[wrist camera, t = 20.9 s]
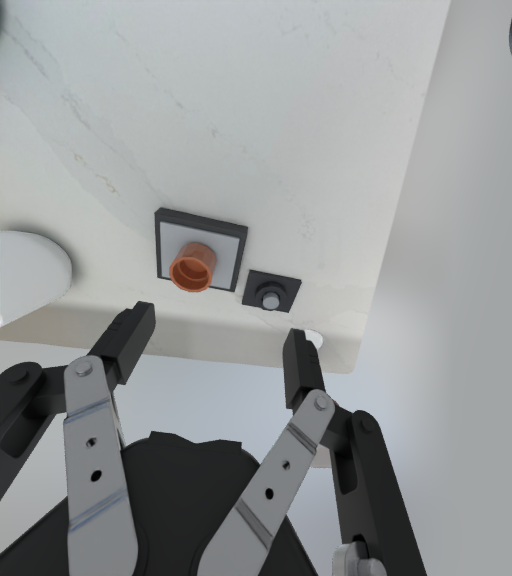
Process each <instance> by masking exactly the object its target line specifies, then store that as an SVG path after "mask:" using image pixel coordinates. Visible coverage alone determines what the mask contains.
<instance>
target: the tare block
mask: <svg viewBox="0 0 512 576" xmlns="http://www.w3.org/2000/svg"><path fill="white" fill-rule="evenodd" d="M301 283H302V282H301V280H298V279H293V278H288V277H283V276H278V275H273V274H268V273H263V272H258V271H253V270H250V272H249V276H248V280H247V284H246V288H245V292H244V296H243V300H242V304H243V305H248V306H254V307H259V308H262V309H263V310H268V311H273V310H276V311H281V312H287V313H289V311H290V309H291V306H292V304H293V302H294V299H295V297H296V295H297V292H298V290H299V288H300V285H301ZM268 292H274V293H276V294H277V295H278V297H279V305H278V307H277V308H275V309H267V308H265V307H264V305H263V296H264V295H265V294H266V293H268Z"/></svg>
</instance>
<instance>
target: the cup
mask: <svg viewBox="0 0 512 576" xmlns="http://www.w3.org/2000/svg"><path fill="white" fill-rule="evenodd" d="M71 276H72V265H71V261H70V259H69V257H68V255H67V253H66V252H65V251H64V250H63V249H62V248H61V247H60V246H59V245H58V244H56V243H54V242H53V241H51V240H50V239H48V238H46V237H43V236H40V235H37V234H34V233H26V232H18V231H0V327H2V326H4V325H6V324H8V323H10V322H12V321H14V320H17V319H19V318H21V317H23V316H25V315H27V314H29V313H31V312H33V311H35V310H37V309H39V308H41V307H43V306H45V305H47V304H49V303H51V302H53V301H55V300H57V299H59V298H61V297H63V296H64V295H65V293H66V292H67V290H68V289H69V287H70V286H71Z"/></svg>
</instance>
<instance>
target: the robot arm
mask: <svg viewBox="0 0 512 576" xmlns="http://www.w3.org/2000/svg"><path fill="white" fill-rule="evenodd" d="M155 324H156V320H155V309H154V304H153V303H148V302H142V301H138V302H137V303H136V305H135V306H134V308H133V309H125V310H124V311H122V312H121V313H119V314H118V315H117V316H116V317H115V319H114V320H113V321H112V324H110V325H109V327H108V328H107V330H106V331H105V332H104V333H103V334H102V336H101V337H100V338H99V340H98V341H97V342H96V344H95V345H94V346H93V348H92V349H91V350H90V352H89V353H88V354H87V355H86V356H83V357H80V358H78V359H76V360H74V361H73V362H71V363H70V364H69V365H65V366H58V367H50V368H42V367H41V366H40V365H39V364H38V363H35V362H23V363H20V364H16V365H14V366H12V367H10V368H8V369H6V370H5V371H4V372H2V373H1V374H0V501H1V499H2V497H3V496H4V494H5V493H6V491H7V489H8V488H9V487H10V485H11V484H12V482H13V480H14V479H15V477H16V476H17V474H18V473H19V471H20V470H21V468H22V467H23V465H24V463H25V462H26V460H27V459H28V457H29V456H30V454H31V453H32V451H33V450H34V448H35V446H36V445H37V443H38V442H39V440H40V439H41V437H42V436H43V434H44V432H45V431H46V429H47V428H48V426H49V425H50V423H51V422H52V420H53V419H54V417H55V415H56V414H59V413H64V412H67V417H66V419H64V422H63V429H64V430H63V431H64V446H65V461H66V476H67V492H68V496H67V497H66V498H64V499H63V500H62V501H61V502H60V503H59V504H58V505H56V506H55V507H54V508H53V509H52V510H50V511H49V512H48V513H47V514H46V515H45V516H44V517H42V518H41V519H40V520H39V521H38V522H37V523H35V524H34V525H33V526H32V527H31V528H29V529H28V530H27V531H26V532H25V533H24V534H22V536H20V537H19V538H18V539H17V540H16V541H14V542H13V543H12V544H11V545H10V546H9V547H8V548H6V549H5V550H4V551H3V552H2V553H0V576H318V574H317V572H316V570H315V568H314V566H313V565H312V562H311V560H310V559H309V557H308V555H307V553H306V551H305V549H304V547H303V545H302V543H301V541H300V540H299V537H298V536H297V534H296V532H295V530H294V528H293V526H292V524H291V522H290V520H289V518H288V516H287V514H286V513H287V511H288V509H289V507H290V505H291V503H292V501H293V499H294V497H295V495H296V493H297V491H298V489H299V487H300V485H301V483H302V481H303V479H304V477H305V475H306V473H307V471H308V469H309V467H310V465H311V463H312V461H313V459H314V457H315V455H316V452H317V450H316V448H317V446H318V444H320V445H322V446H324V447H326V448H328V449H329V452H330V459H331V466H332V474H333V481H334V487H335V495H336V502H337V509H338V516H339V524H340V531H341V538H342V545H340V546H338V547H337V548H336V550H335V552H334V555H333V562H332V571H333V573H332V576H427V574H426V571H425V568H424V564H423V562H422V558H421V555H420V552H419V549H418V546H417V542H416V539H415V536H414V533H413V530H412V527H411V523H410V521H409V517H408V514H407V511H406V508H405V505H404V501H403V498H402V495H401V492H400V489H399V486H398V482H397V479H396V476H395V473H394V470H393V467H392V464H391V460H390V457H389V454H388V451H387V448H386V444H385V441H384V438H383V435H382V432H381V429H380V427H379V424H378V422H377V421H376V420H375V418H374V417H373V416H372V415H370V414H369V413H367V412H365V411H362V410H357V411H355V412H354V413H351V412H349V411H347V410H345V409H343V408H341V407H339V406H338V405H336V404H335V403H334V402H333V400H332V399H331V397H330V396H329V395H328V394H327V393H326V390H325V386H324V381H323V377H322V372H321V368H320V365H319V358H318V354H317V349H316V347H315V345H314V344H313V342H312V341H310V340H306V335H305V331H304V330H299V329H293V328H291V330H290V332H289V334H288V336H287V339H286V341H285V343H284V346H283V367H284V383H285V397H286V408H287V409H292V410H293V417H292V418H291V420H290V421H289V423H288V424H287V426H286V427H285V429H284V430H283V432H282V433H281V435H280V436H279V437H278V439H277V441H276V442H275V443H274V445H273V446H272V448H271V449H270V451H269V452H268V454H267V456H266V457H265V458H264V460H263V461H262V463H261V464H259V463H258V461H257V460H256V459H255V458H254V457H253V456H252V455H251V454H250V453H248V452H247V451H245V450H243V449H241V445H242V442H236V441H228V440H215V441H209V442H203V443H193V442H191V441H189V440H186V439H184V438H182V437H180V436H178V435H176V434H172V433H163V432H156V431H151V434H150V436H149V438H144V439H141V440H138V441H136V442H133V443H131V444H130V445H128V446H126V443H125V439H124V436H123V432H122V428H121V424H120V420H119V416H118V411H117V407H116V402H115V398H114V393H113V391H114V389H115V388H116V386H117V384H121V385H125V384H126V382H127V380H128V378H129V377H130V375H131V373H132V371H133V369H134V367H135V365H136V364H137V362H138V360H139V358H140V356H141V354H142V352H143V351H144V349H145V347H146V345H147V343H148V341H149V339H150V337H151V336H152V334H153V332H154V329H155Z"/></svg>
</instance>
